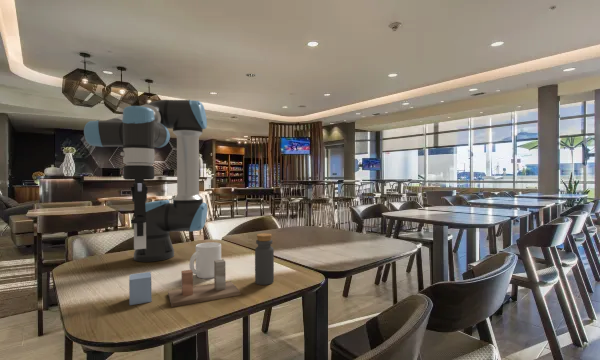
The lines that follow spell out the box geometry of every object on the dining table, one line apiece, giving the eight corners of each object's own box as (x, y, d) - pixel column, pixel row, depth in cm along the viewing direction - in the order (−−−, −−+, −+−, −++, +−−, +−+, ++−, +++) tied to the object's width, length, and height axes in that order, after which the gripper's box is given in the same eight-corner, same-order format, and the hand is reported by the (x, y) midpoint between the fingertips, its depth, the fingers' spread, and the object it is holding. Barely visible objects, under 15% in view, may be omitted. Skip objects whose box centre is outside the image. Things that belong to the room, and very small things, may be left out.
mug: (198, 284, 99) (198, 250, 99) (181, 279, 104) (180, 247, 104) (226, 273, 110) (226, 243, 110) (209, 270, 114) (209, 241, 114)
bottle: (266, 277, 105) (265, 232, 105) (277, 282, 101) (277, 234, 101) (251, 281, 101) (251, 234, 101) (262, 286, 97) (262, 237, 97)
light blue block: (129, 298, 88) (129, 274, 88) (150, 295, 90) (150, 271, 90) (129, 305, 83) (129, 280, 83) (151, 301, 86) (151, 277, 85)
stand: (168, 294, 91) (167, 262, 91) (230, 284, 99) (230, 255, 99) (171, 307, 82) (171, 272, 82) (240, 294, 90) (240, 262, 90)
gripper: (124, 166, 95) (124, 237, 96) (121, 162, 73) (122, 255, 73) (152, 166, 99) (152, 235, 99) (157, 163, 77) (158, 251, 77)
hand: (139, 244), depth 86 cm, fingers open, 13 cm apart
